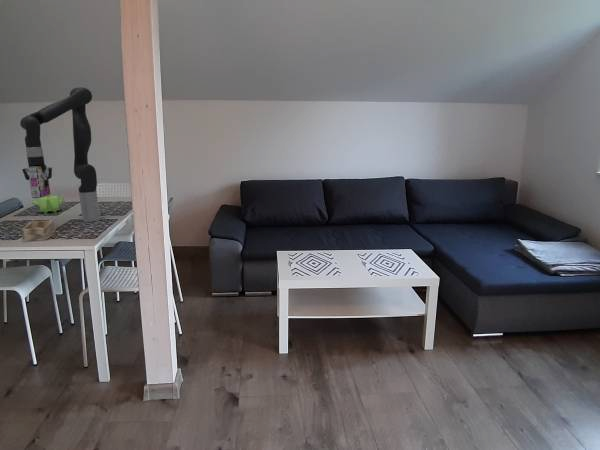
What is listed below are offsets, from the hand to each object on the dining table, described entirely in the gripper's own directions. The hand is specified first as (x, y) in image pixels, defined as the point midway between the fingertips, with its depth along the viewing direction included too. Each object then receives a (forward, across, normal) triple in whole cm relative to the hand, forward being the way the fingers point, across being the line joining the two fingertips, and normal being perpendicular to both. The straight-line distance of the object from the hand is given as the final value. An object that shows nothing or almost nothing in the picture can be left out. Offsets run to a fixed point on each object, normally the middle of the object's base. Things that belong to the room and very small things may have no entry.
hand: (40, 187), depth 238 cm
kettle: (+23, +7, -46) cm, 52 cm away
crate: (+23, 0, +16) cm, 28 cm away
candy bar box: (+5, 0, 0) cm, 5 cm away
